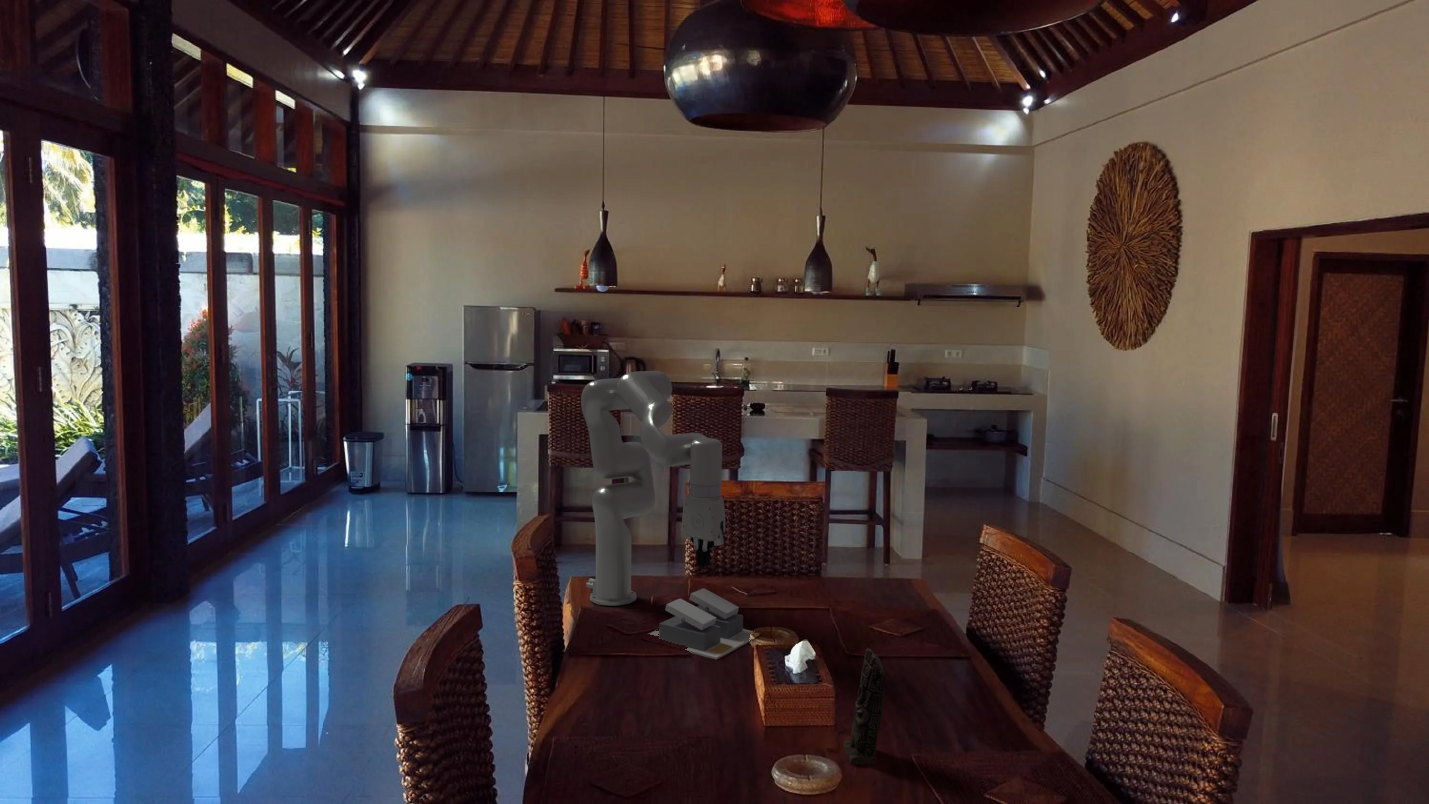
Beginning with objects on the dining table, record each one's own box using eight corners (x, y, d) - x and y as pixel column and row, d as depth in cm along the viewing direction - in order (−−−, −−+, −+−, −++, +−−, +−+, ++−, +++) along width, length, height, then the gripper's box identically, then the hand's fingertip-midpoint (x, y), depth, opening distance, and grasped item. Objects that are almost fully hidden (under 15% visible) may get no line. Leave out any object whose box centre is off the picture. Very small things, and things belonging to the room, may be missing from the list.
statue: (841, 747, 184) (845, 644, 182) (879, 746, 185) (883, 643, 182) (849, 765, 177) (853, 657, 175) (888, 764, 178) (893, 657, 176)
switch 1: (664, 612, 237) (666, 604, 236) (678, 606, 241) (680, 598, 241) (701, 632, 231) (703, 624, 230) (714, 625, 236) (716, 617, 235)
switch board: (640, 639, 239) (640, 621, 238) (688, 617, 255) (688, 600, 255) (716, 659, 226) (716, 640, 226) (761, 635, 243) (761, 617, 243)
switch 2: (688, 601, 245) (690, 593, 244) (701, 595, 249) (703, 588, 249) (724, 621, 239) (726, 613, 239) (736, 615, 244) (739, 607, 243)
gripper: (670, 488, 236) (668, 563, 238) (722, 497, 227) (719, 575, 230) (689, 483, 242) (687, 556, 244) (740, 492, 233) (737, 568, 236)
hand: (703, 565), depth 237 cm, fingers closed
